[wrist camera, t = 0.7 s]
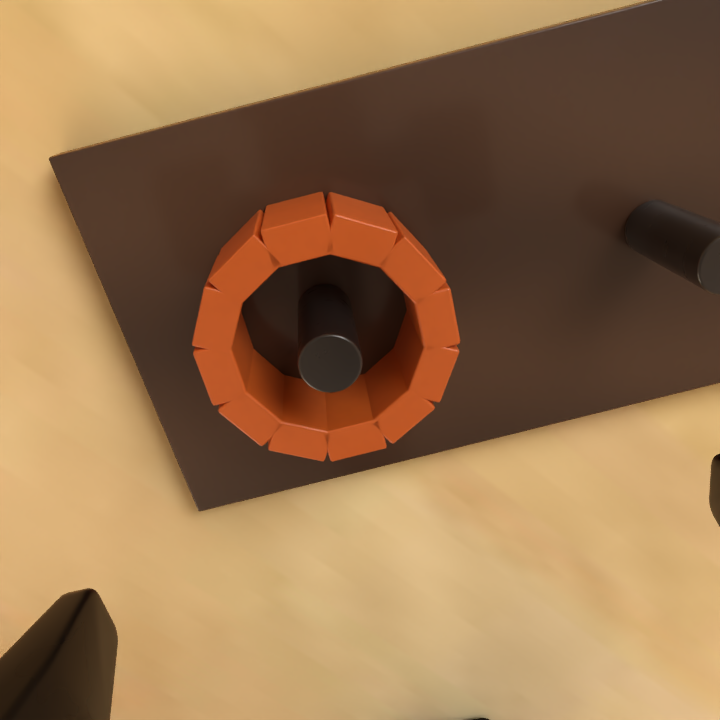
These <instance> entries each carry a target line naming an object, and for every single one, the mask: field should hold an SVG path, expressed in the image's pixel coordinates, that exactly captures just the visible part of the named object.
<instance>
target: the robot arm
mask: <svg viewBox="0 0 720 720" xmlns="http://www.w3.org/2000/svg"><path fill="white" fill-rule="evenodd" d="M709 503H710V508H711V511H712V513H713V516H714V518H715V519H716V521H717V523H718V524H719V526H720V454H718V455H716V456H715V457H714V458H713V460H712V464H711V478H710V493H709ZM117 645H118V636H117V631H116V627H115V625H114V623H113V621H112V619H111V617H110V615H109V613H108V611H107V609H106V607H105V605H104V604H103V602H102V600H101V598H100V596H99V594H98V593H97V592H96V591H95V590H94V589H90V588H88V589H83V590H78V591H74V592H69V593H66V594H64V595H62V596H61V597H60V598H59V599H58V600H57V601H56V602H55V603H54V604H53V605H52V606H51V607H50V608H49V609H48V610H47V611H46V612H45V613H44V614H43V615H42V616H41V617H40V618H39V619H38V620H37V621H36V622H35V623H34V624H33V625H32V627H31V628H30V629H29V630H28V631H27V632H26V633H25V634H24V635H23V636H22V637H21V638H20V639H19V640H18V641H17V642H16V643H15V644H14V645H13V646H12V647H11V648H10V649H9V650H8V651H7V652H6V653H5V654H4V655H3V656H2V657H1V658H0V720H110V713H111V704H112V694H113V684H114V675H115V665H116V655H117ZM475 720H489V719H486V718H480V719H475Z"/></svg>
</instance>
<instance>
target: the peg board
mask: <svg viewBox="0 0 720 720" xmlns="http://www.w3.org/2000/svg"><path fill="white" fill-rule="evenodd" d="M49 161H50V163H51V165H52V168H53V170H54V172H55V175H56V177H57V179H58V182H59V184H60V186H61V189H62V191H63V194H64V196H65V198H66V201H67V203H68V205H69V208H70V210H71V212H72V215H73V217H74V219H75V222H76V224H77V226H78V229H79V231H80V233H81V236H82V238H83V241H84V243H85V245H86V248H87V250H88V252H89V255H90V257H91V259H92V262H93V264H94V266H95V269H96V271H97V273H98V276H99V278H100V280H101V283H102V285H103V287H104V290H105V292H106V295H107V297H108V299H109V302H110V304H111V306H112V309H113V311H114V313H115V316H116V318H117V320H118V323H119V325H120V327H121V330H122V332H123V334H124V337H125V339H126V342H127V344H128V346H129V349H130V351H131V353H132V356H133V358H134V360H135V363H136V365H137V367H138V370H139V372H140V374H141V377H142V379H143V381H144V384H145V386H146V388H147V391H148V393H149V396H150V398H151V400H152V403H153V405H154V407H155V410H156V412H157V414H158V417H159V419H160V421H161V424H162V426H163V428H164V431H165V433H166V435H167V438H168V440H169V443H170V445H171V447H172V450H173V452H174V454H175V457H176V459H177V461H178V464H179V466H180V468H181V471H182V473H183V475H184V478H185V480H186V482H187V485H188V487H189V489H190V492H191V494H192V497H193V499H194V501H195V504H196V506H197V508H198V511H203V510H207V509H211V508H215V507H219V506H223V505H227V504H231V503H235V502H240V501H244V500H248V499H252V498H256V497H260V496H264V495H268V494H272V493H276V492H280V491H284V490H288V489H292V488H296V487H300V486H304V485H308V484H312V483H316V482H320V481H324V480H328V479H332V478H337V477H341V476H345V475H349V474H353V473H357V472H361V471H365V470H369V469H373V468H377V467H381V466H385V465H389V464H393V463H397V462H401V461H405V460H409V459H413V458H417V457H421V456H425V455H429V454H434V453H438V452H442V451H446V450H450V449H454V448H458V447H462V446H466V445H470V444H474V443H478V442H482V441H486V440H490V439H494V438H498V437H502V436H506V435H510V434H514V433H518V432H522V431H527V430H531V429H535V428H539V427H543V426H547V425H551V424H555V423H559V422H563V421H567V420H571V419H575V418H579V417H583V416H587V415H591V414H595V413H599V412H603V411H607V410H611V409H615V408H619V407H624V406H628V405H632V404H636V403H640V402H644V401H648V400H652V399H656V398H660V397H664V396H668V395H672V394H676V393H680V392H684V391H688V390H692V389H696V388H700V387H704V386H708V385H712V384H716V383H720V0H647V1H644V2H640V3H636V4H632V5H628V6H624V7H620V8H617V9H613V10H609V11H605V12H601V13H597V14H593V15H590V16H586V17H582V18H578V19H574V20H570V21H567V22H563V23H559V24H555V25H551V26H547V27H543V28H540V29H536V30H532V31H528V32H524V33H520V34H517V35H513V36H509V37H505V38H501V39H497V40H493V41H490V42H486V43H482V44H478V45H474V46H470V47H467V48H463V49H459V50H455V51H451V52H447V53H443V54H440V55H436V56H432V57H428V58H424V59H420V60H417V61H413V62H409V63H405V64H401V65H397V66H393V67H390V68H386V69H382V70H378V71H374V72H370V73H366V74H363V75H359V76H355V77H351V78H347V79H343V80H340V81H336V82H332V83H328V84H324V85H320V86H316V87H313V88H309V89H305V90H301V91H297V92H293V93H290V94H286V95H282V96H278V97H274V98H270V99H266V100H263V101H259V102H255V103H251V104H247V105H243V106H240V107H236V108H232V109H228V110H224V111H220V112H216V113H213V114H209V115H205V116H201V117H197V118H193V119H190V120H186V121H182V122H178V123H174V124H170V125H166V126H163V127H159V128H155V129H151V130H147V131H143V132H139V133H136V134H132V135H128V136H124V137H120V138H116V139H113V140H109V141H105V142H101V143H97V144H93V145H89V146H86V147H82V148H78V149H74V150H70V151H66V152H63V153H60V154H57V155H54V156H52V157H50V158H49ZM317 192H323V195H324V199H325V203H326V200H327V196H328V193H329V192H333V193H336V194H340V195H343V196H347V197H350V198H354V199H357V200H361V201H364V202H367V203H371V204H374V205H378V206H381V207H383V208H384V209H385V211H386V212H387V213H388V212H392V213H393V214H394V216H395V217H396V218H397V219H398V220H399V221H400V222H401V223H402V224H403V225H404V226H405V227H406V229H407V230H408V231H409V232H410V233H411V234H412V235H413V236H414V237H415V238H416V239H417V240H418V241H419V243H420V244H421V245H422V246H423V247H424V248H425V249H426V250H427V252H428V253H429V255H430V256H431V258H432V259H433V261H434V262H435V264H436V265H437V267H438V268H439V269H440V271H441V272H442V274H443V275H444V277H445V278H446V283H447V284H448V286H449V287H450V289H451V293H452V298H453V304H454V309H455V315H456V320H457V325H458V331H459V336H460V343H459V344H457V347H458V349H459V354H458V357H457V360H456V362H455V365H454V367H453V370H452V373H451V375H450V378H449V380H448V383H447V385H446V388H445V391H444V393H443V396H442V398H441V401H440V402H434V401H433V404H434V407H435V409H434V410H433V411H432V412H431V413H429V414H428V415H427V416H426V417H425V418H423V419H422V420H421V421H420V422H419V423H418V424H416V425H415V426H414V427H413V428H412V429H410V430H409V431H408V432H407V433H406V434H404V435H403V436H402V437H401V438H400V439H399V440H397V441H396V442H395V443H393V444H392V443H390V442H389V441H388V440H387V439H386V438H385V441H386V448H385V449H381V450H377V451H373V452H369V453H365V454H361V455H357V456H353V457H349V458H345V459H341V460H337V461H333V462H332V461H330V458H329V455H328V452H327V455H326V458H325V460H324V461H318V460H313V459H308V458H303V457H298V456H294V455H289V454H284V453H279V452H274V451H270V450H268V442H266V443H265V444H264V445H263V446H260V445H259V444H257V443H256V442H255V441H254V440H252V439H251V438H250V437H249V436H247V435H246V434H245V433H244V432H242V431H241V430H240V429H239V428H237V427H236V426H235V425H234V424H232V423H231V422H230V421H229V420H227V419H226V418H225V417H224V416H222V415H221V414H220V413H219V412H218V408H219V405H213V404H212V403H211V400H210V397H209V395H208V392H207V389H206V387H205V384H204V382H203V379H202V376H201V374H200V371H199V368H198V366H197V363H196V361H195V358H194V355H193V351H194V349H195V346H193V345H192V341H193V336H194V331H195V327H196V322H197V317H198V313H199V308H200V303H201V299H202V294H203V289H204V286H205V284H206V282H207V279H208V277H209V274H210V272H211V270H212V267H213V265H214V262H215V260H216V258H217V256H218V255H219V253H220V250H221V248H222V247H223V246H224V245H225V244H226V243H227V242H228V241H229V240H230V239H231V238H232V237H233V236H234V235H235V234H236V233H237V232H238V231H239V230H240V229H241V228H242V227H243V226H244V225H245V224H246V223H247V222H248V221H249V220H250V219H251V218H252V217H253V216H254V215H255V214H256V213H257V212H258V211H259V210H262V211H263V212H264V213H265V209H266V206H267V205H270V204H274V203H278V202H282V201H286V200H290V199H294V198H298V197H302V196H306V195H309V194H313V193H317ZM406 311H407V308H406V304H405V299H404V295H403V291H402V290H401V289H400V288H399V287H398V286H397V285H396V284H395V283H394V282H393V281H392V280H391V279H390V278H389V277H388V276H387V275H386V274H385V273H384V272H383V271H382V270H381V269H380V268H379V267H375V266H371V265H367V264H364V263H360V262H356V261H353V260H349V259H345V258H341V257H338V256H334V255H326V256H322V257H318V258H314V259H310V260H306V261H302V262H299V263H295V264H291V265H287V266H283V267H279V268H278V269H277V270H276V271H275V272H274V273H273V274H272V275H271V276H270V277H269V278H268V279H267V280H266V281H265V282H264V283H263V284H262V285H260V286H259V287H258V288H257V289H256V290H255V291H254V292H253V293H252V294H251V295H250V296H249V297H248V298H247V299H246V300H245V301H244V302H243V304H242V308H241V312H242V315H243V318H244V321H245V324H246V327H247V330H248V333H249V336H250V339H251V342H252V345H253V348H254V349H255V350H256V351H257V352H258V353H259V354H260V355H261V356H263V357H264V358H265V359H266V360H267V361H268V362H270V363H271V364H272V365H273V366H274V367H275V368H276V369H278V370H279V371H280V372H281V373H282V374H283V375H286V376H291V377H295V378H299V379H303V380H304V381H305V382H306V383H307V384H308V385H309V386H310V387H312V388H314V389H316V390H318V391H321V392H328V393H332V392H338V391H342V390H344V389H346V388H348V387H349V386H351V385H352V384H353V383H354V382H355V381H356V380H357V378H358V377H359V375H362V374H365V373H366V372H367V371H368V370H369V369H371V368H372V367H373V366H374V365H375V364H376V363H377V362H378V361H380V360H381V359H382V358H383V357H384V356H385V355H386V354H387V353H389V352H390V351H391V350H392V349H393V348H394V346H395V343H396V340H397V337H398V334H399V331H400V328H401V325H402V323H403V320H404V317H405V314H406Z"/></svg>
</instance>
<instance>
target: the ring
mask: <svg viewBox="0 0 720 720" xmlns="http://www.w3.org/2000/svg"><path fill="white" fill-rule="evenodd" d="M326 255H334V256H338V257H341V258H345V259H349V260H353V261H356V262H360V263H364V264H367V265H371V266H375V267H379V268H380V269H381V270H382V271H383V272H384V273H385V274H386V275H387V276H388V277H389V278H390V279H391V280H392V281H393V282H394V283H395V284H396V285H397V286H398V287H399V288H400V289H401V290H402V291H403V295H404V299H405V304H406V308H407V311H406V314H405V317H404V320H403V323H402V325H401V328H400V331H399V334H398V337H397V340H396V343H395V346H394V348H393V349H392V350H391V351H390V352H389V353H387V354H386V355H385V356H384V357H383V358H382V359H381V360H380V361H378V362H377V363H376V364H375V365H374V366H373V367H372V368H371V369H369V370H368V371H367V372H366V373H365V374H362V375H359V377H358V378H357V380H356V381H355V382H354V383H353V384H352V385H351V386H349V387H348V388H346V389H344V390H342V391H338V392H332V393H328V392H321V391H318V390H316V389H314V388H312V387H310V386H309V385H308V384H307V383H306V382H305V381H304V380H303V379H299V378H295V377H291V376H286V375H283V374H282V373H281V372H280V371H279V370H278V369H276V368H275V367H274V366H273V365H272V364H271V363H270V362H268V361H267V360H266V359H265V358H264V357H263V356H261V355H260V354H259V353H258V352H257V351H256V350H255V349H254V348H253V345H252V342H251V339H250V336H249V333H248V330H247V327H246V324H245V321H244V318H243V315H242V312H241V308H242V304H243V302H244V301H245V300H246V299H247V298H248V297H249V296H250V295H251V294H252V293H253V292H254V291H255V290H256V289H257V288H258V287H259V286H260V285H262V284H263V283H264V282H265V281H266V280H267V279H268V278H269V277H270V276H271V275H272V274H273V273H274V272H275V271H276V270H277V269H278V268H279V267H283V266H287V265H291V264H295V263H299V262H302V261H306V260H310V259H314V258H318V257H322V256H326ZM459 343H460V336H459V331H458V325H457V320H456V315H455V309H454V304H453V298H452V293H451V289H450V287H449V286H448V284H447V283H446V278H445V277H444V275H443V274H442V272H441V271H440V269H439V268H438V267H437V265H436V264H435V262H434V261H433V259H432V258H431V256H430V255H429V253H428V252H427V250H426V249H425V248H424V247H423V246H422V245H421V244H420V243H419V241H418V240H417V239H416V238H415V237H414V236H413V235H412V234H411V233H410V232H409V231H408V230H407V229H406V227H405V226H404V225H403V224H402V223H401V222H400V221H399V220H398V219H397V218H396V217H395V216H394V214H393V213H392V212H388V213H387V212H386V211H385V209H384V208H383V207H381V206H378V205H374V204H371V203H367V202H364V201H361V200H357V199H354V198H350V197H347V196H343V195H340V194H336V193H333V192H329V193H328V196H327V200H326V203H325V199H324V195H323V192H317V193H313V194H309V195H306V196H302V197H298V198H294V199H290V200H286V201H282V202H278V203H274V204H270V205H267V206H266V209H265V213H264V212H263V211H262V210H259V211H258V212H257V213H256V214H255V215H254V216H253V217H252V218H251V219H250V220H249V221H248V222H247V223H246V224H245V225H244V226H243V227H242V228H241V229H240V230H239V231H238V232H237V233H236V234H235V235H234V236H233V237H232V238H231V239H230V240H229V241H228V242H227V243H226V244H225V245H224V246H223V247H222V248H221V250H220V253H219V255H218V256H217V258H216V260H215V262H214V265H213V267H212V270H211V272H210V274H209V277H208V279H207V282H206V284H205V286H204V289H203V294H202V299H201V303H200V308H199V313H198V317H197V322H196V327H195V331H194V336H193V341H192V345H193V346H195V349H194V351H193V355H194V358H195V361H196V363H197V366H198V368H199V371H200V374H201V376H202V379H203V382H204V384H205V387H206V389H207V392H208V395H209V397H210V400H211V403H212V404H213V405H219V408H218V412H219V413H220V414H221V415H222V416H224V417H225V418H226V419H227V420H229V421H230V422H231V423H232V424H234V425H235V426H236V427H237V428H239V429H240V430H241V431H242V432H244V433H245V434H246V435H247V436H249V437H250V438H251V439H252V440H254V441H255V442H256V443H257V444H259V445H260V446H263V445H264V444H265V443H266V442H268V450H270V451H274V452H279V453H284V454H289V455H294V456H298V457H303V458H308V459H313V460H318V461H324V460H325V458H326V455H327V452H328V455H329V458H330V461H332V462H333V461H337V460H341V459H345V458H349V457H353V456H357V455H361V454H365V453H369V452H373V451H377V450H381V449H385V448H386V441H385V438H386V439H387V440H388V441H389V442H390V443H392V444H393V443H395V442H396V441H397V440H399V439H400V438H401V437H402V436H403V435H404V434H406V433H407V432H408V431H409V430H410V429H412V428H413V427H414V426H415V425H416V424H418V423H419V422H420V421H421V420H422V419H423V418H425V417H426V416H427V415H428V414H429V413H431V412H432V411H433V410H434V409H435V407H434V404H433V401H434V402H440V401H441V398H442V396H443V393H444V391H445V388H446V385H447V383H448V380H449V378H450V375H451V373H452V370H453V367H454V365H455V362H456V360H457V357H458V354H459V349H458V347H457V344H459Z"/></svg>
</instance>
